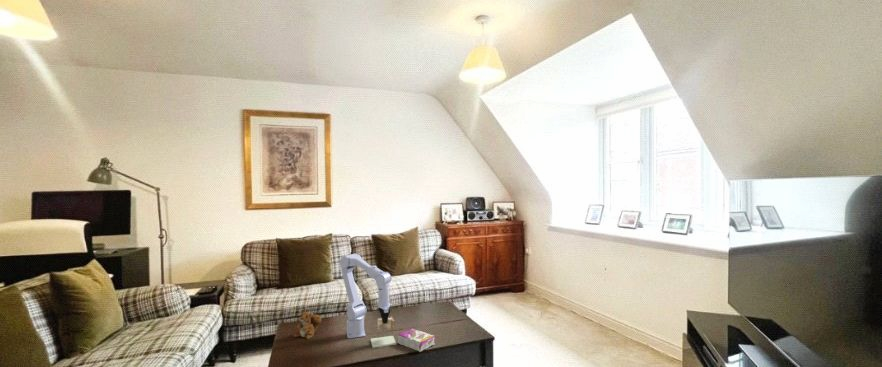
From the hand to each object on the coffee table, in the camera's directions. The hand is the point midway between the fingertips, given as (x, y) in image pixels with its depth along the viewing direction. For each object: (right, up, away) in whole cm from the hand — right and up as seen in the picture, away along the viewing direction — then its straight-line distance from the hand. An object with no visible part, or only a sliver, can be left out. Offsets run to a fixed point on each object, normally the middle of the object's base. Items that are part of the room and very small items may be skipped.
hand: (384, 322), depth 198 cm
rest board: (-1, -10, 0) cm, 10 cm away
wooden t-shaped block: (0, -3, 0) cm, 3 cm away
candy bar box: (+10, -8, +2) cm, 13 cm away
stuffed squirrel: (-44, -12, +13) cm, 47 cm away
